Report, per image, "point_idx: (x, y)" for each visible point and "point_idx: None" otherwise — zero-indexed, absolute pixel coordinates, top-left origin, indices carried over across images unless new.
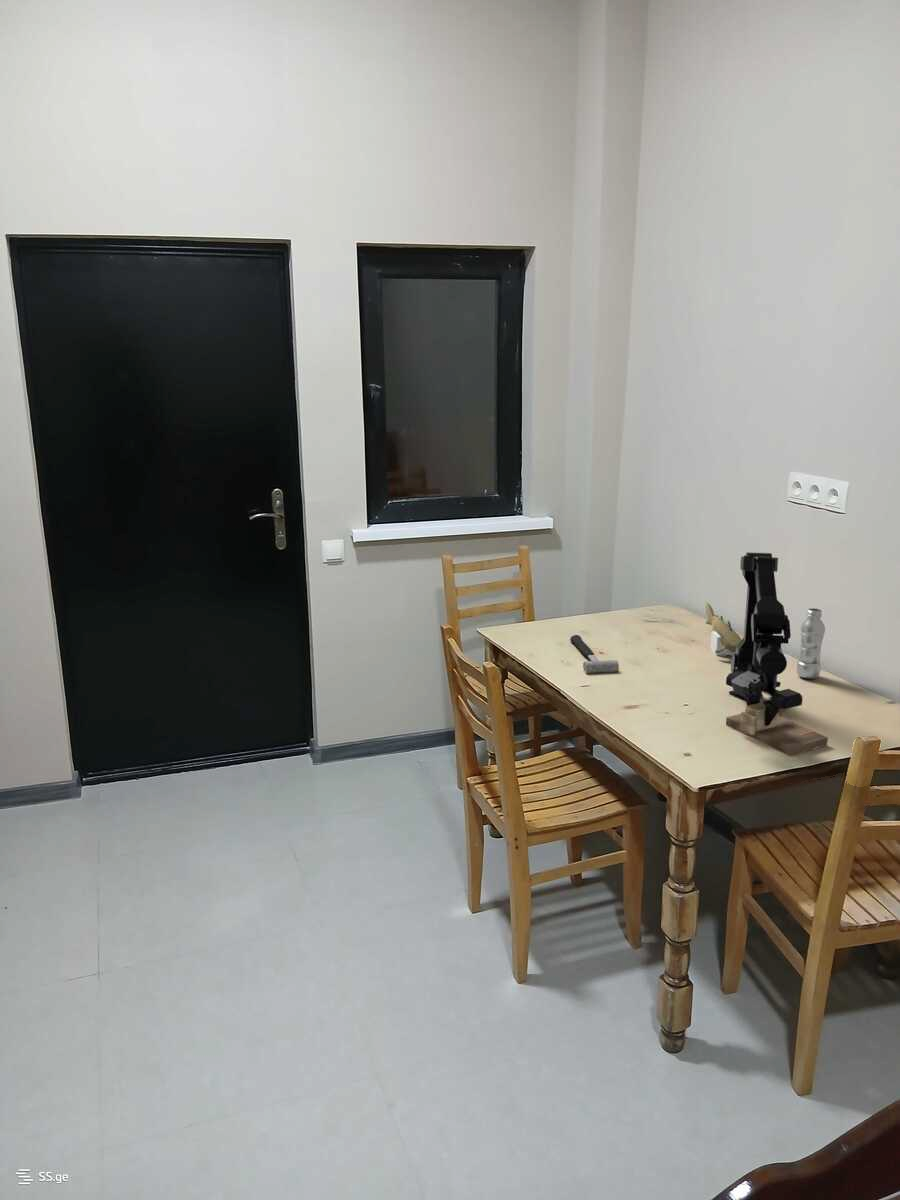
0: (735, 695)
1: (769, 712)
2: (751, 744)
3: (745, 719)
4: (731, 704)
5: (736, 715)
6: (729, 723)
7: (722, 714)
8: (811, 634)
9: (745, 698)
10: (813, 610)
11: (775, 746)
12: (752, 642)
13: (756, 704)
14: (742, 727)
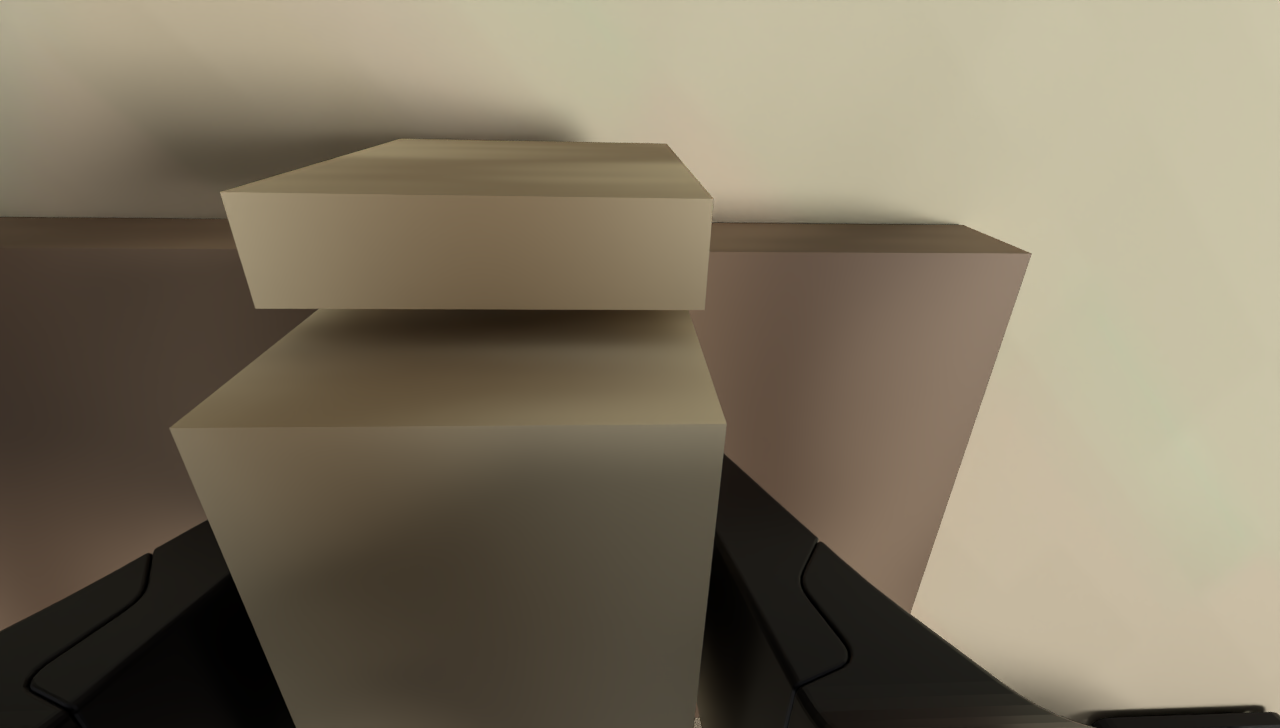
0: (1213, 721)
1: (33, 621)
2: (329, 32)
3: (539, 172)
4: (1165, 609)
5: (959, 414)
6: (924, 234)
7: (1136, 404)
8: None
9: (973, 690)
10: None
11: (94, 227)
12: None
13: (658, 688)
14: (608, 147)
